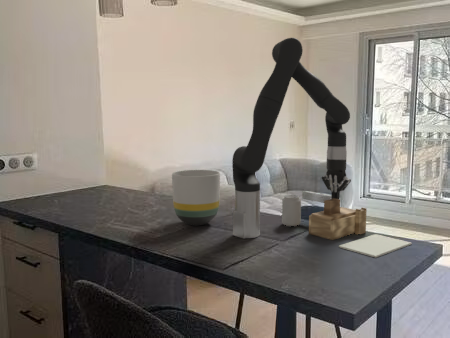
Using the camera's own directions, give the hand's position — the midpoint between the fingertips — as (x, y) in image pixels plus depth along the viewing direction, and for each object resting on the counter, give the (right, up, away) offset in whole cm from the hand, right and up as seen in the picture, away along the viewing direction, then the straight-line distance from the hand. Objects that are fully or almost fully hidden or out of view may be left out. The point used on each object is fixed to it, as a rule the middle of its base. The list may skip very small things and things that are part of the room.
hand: (335, 201), depth 173 cm
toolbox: (-2, -12, -7) cm, 14 cm away
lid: (-2, -5, -8) cm, 10 cm away
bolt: (-6, -1, +7) cm, 9 cm away
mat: (+8, -14, -23) cm, 28 cm away
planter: (-56, -10, +8) cm, 57 cm away
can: (-17, -10, +5) cm, 20 cm away
